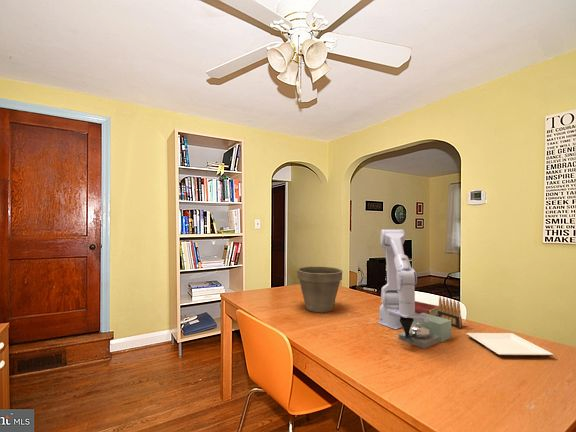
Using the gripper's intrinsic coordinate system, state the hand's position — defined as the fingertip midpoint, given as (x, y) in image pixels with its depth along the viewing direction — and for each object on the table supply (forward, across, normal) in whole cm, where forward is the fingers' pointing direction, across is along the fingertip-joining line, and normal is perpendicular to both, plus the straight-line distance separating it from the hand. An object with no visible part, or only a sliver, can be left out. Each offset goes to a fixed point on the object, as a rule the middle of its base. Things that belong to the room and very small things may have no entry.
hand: (407, 337), depth 107 cm
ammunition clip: (+3, +10, +34) cm, 36 cm away
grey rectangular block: (+3, +4, +11) cm, 12 cm away
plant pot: (+3, -51, +21) cm, 55 cm away
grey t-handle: (+1, +2, +3) cm, 4 cm away
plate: (+3, +30, +20) cm, 36 cm away
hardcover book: (+4, -7, +47) cm, 48 cm away
